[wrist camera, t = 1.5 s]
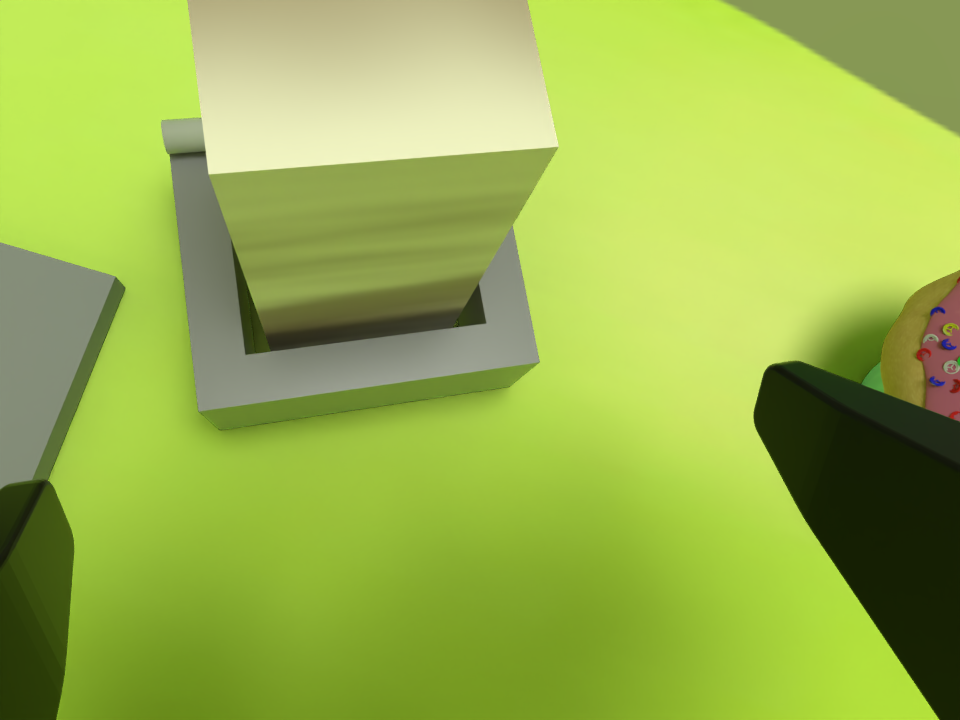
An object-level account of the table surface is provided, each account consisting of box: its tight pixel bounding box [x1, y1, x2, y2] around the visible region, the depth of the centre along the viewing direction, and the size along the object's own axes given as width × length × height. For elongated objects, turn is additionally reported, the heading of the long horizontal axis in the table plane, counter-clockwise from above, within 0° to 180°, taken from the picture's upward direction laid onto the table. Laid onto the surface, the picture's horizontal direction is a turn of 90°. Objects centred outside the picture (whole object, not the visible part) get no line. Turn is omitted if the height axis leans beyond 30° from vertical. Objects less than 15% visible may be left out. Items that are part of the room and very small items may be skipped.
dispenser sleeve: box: [161, 118, 540, 430], centre depth 20 cm, size 7×8×4 cm
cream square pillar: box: [187, 0, 559, 352], centre depth 17 cm, size 4×5×12 cm
